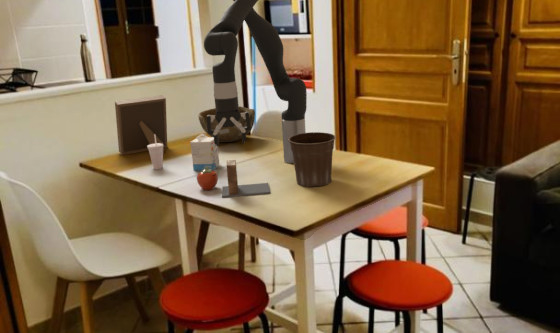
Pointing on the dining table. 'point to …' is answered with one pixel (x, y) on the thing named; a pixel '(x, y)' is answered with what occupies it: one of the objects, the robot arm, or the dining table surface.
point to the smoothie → (156, 154)
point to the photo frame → (141, 123)
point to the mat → (247, 190)
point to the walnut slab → (232, 177)
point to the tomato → (207, 179)
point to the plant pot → (312, 158)
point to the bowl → (228, 132)
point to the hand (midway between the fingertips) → (230, 144)
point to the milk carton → (204, 153)
